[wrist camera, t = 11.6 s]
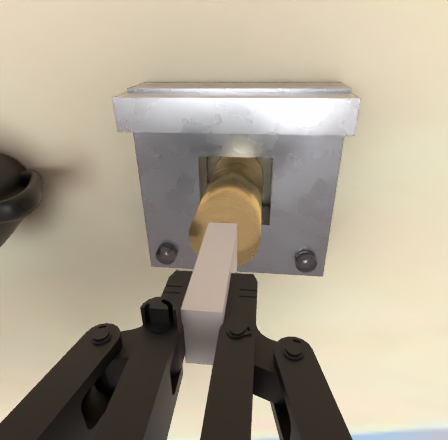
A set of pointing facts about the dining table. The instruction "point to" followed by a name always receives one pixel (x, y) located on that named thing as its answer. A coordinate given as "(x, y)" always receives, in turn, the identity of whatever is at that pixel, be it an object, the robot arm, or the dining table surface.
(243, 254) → the brass cylinder
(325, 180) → the jig
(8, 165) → the mug
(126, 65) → the dining table surface
